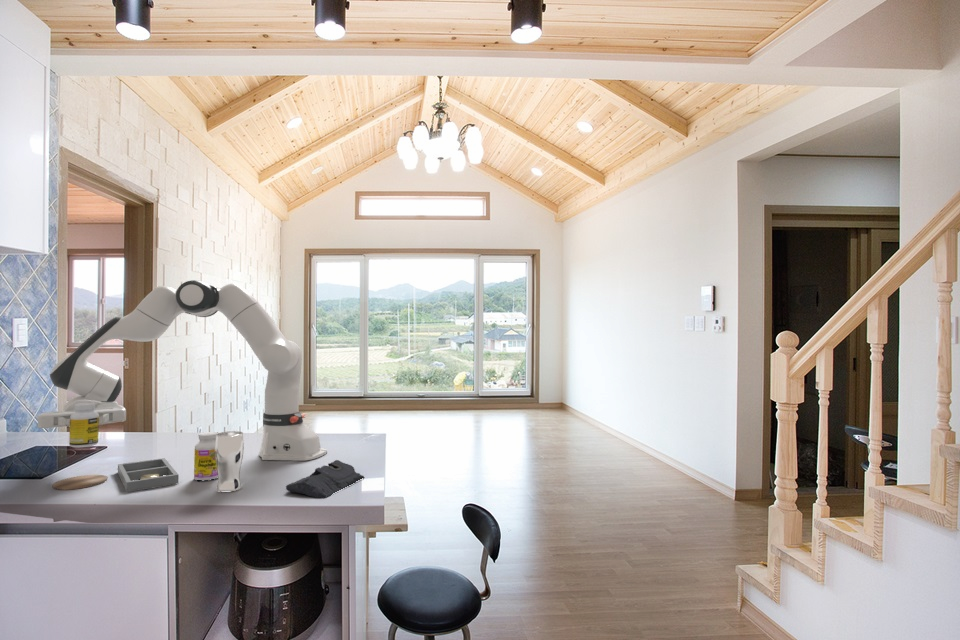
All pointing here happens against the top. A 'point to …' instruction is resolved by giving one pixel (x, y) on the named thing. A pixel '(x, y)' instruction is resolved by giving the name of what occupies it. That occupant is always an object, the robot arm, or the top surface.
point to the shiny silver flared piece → (229, 459)
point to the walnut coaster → (79, 482)
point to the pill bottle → (84, 426)
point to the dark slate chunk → (326, 480)
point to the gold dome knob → (149, 476)
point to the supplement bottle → (205, 457)
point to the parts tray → (144, 468)
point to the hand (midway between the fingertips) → (84, 421)
